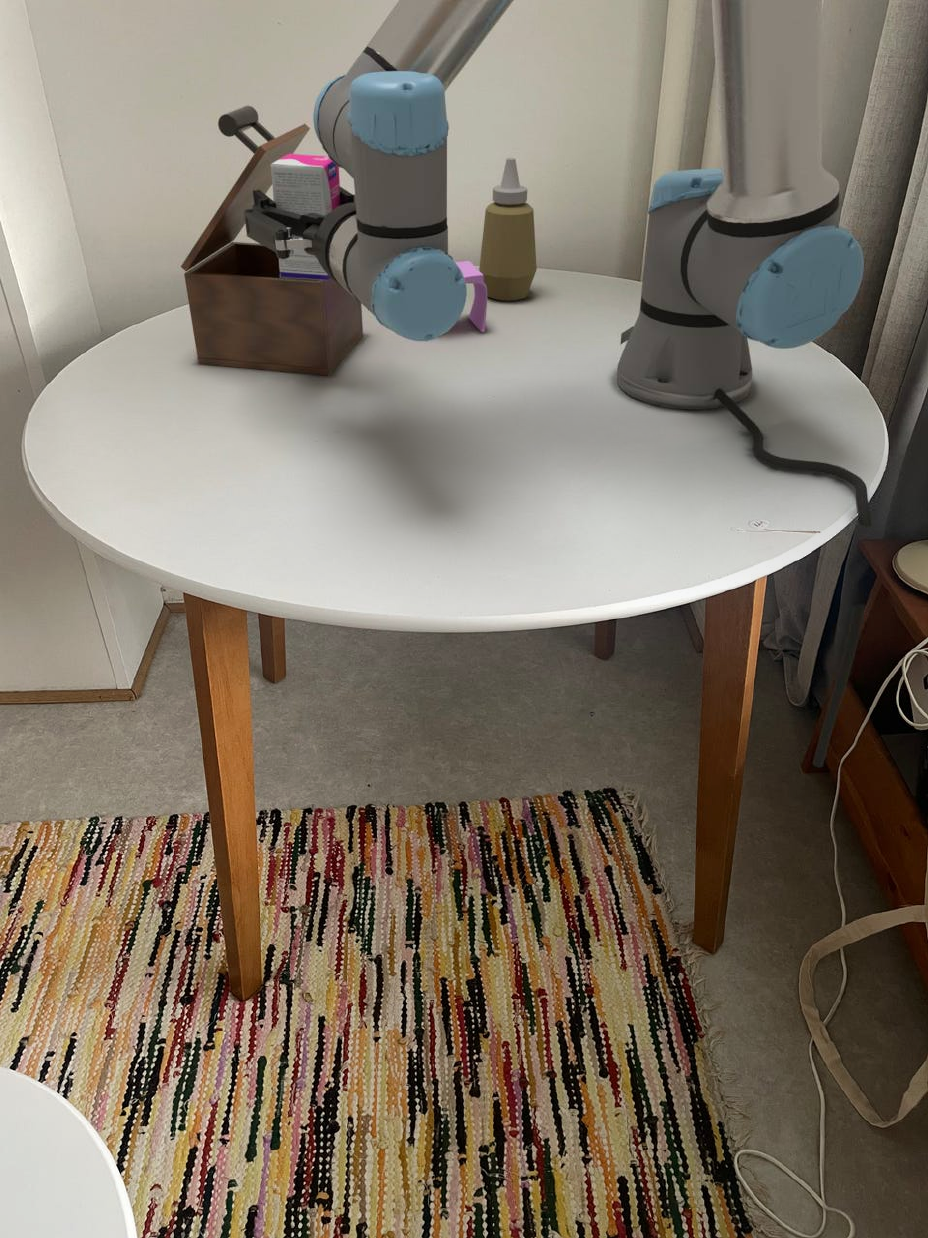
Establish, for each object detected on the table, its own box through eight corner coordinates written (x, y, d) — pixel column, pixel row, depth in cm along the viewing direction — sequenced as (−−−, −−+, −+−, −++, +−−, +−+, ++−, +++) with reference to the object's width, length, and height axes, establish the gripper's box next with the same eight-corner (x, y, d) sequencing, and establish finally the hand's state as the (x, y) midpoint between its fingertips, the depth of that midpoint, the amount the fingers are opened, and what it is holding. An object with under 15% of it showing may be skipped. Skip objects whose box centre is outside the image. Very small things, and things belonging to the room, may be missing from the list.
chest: (363, 336, 129) (358, 249, 122) (328, 375, 118) (320, 283, 111) (243, 326, 132) (232, 241, 125) (198, 363, 121) (183, 273, 114)
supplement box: (331, 281, 107) (322, 165, 100) (278, 278, 108) (266, 163, 101) (346, 265, 111) (339, 154, 105) (296, 262, 112) (285, 152, 106)
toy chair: (490, 334, 129) (492, 212, 120) (424, 341, 127) (422, 217, 118) (472, 314, 136) (473, 197, 127) (409, 320, 133) (405, 201, 125)
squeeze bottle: (469, 290, 144) (470, 155, 133) (519, 283, 146) (523, 150, 136) (494, 307, 138) (497, 167, 127) (545, 299, 140) (552, 161, 130)
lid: (310, 128, 115) (266, 85, 114) (265, 151, 105) (216, 104, 103) (234, 240, 125) (192, 202, 123) (185, 271, 114) (139, 230, 113)
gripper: (262, 308, 91) (206, 245, 108) (466, 280, 98) (384, 224, 115) (251, 222, 87) (195, 170, 104) (466, 199, 94) (381, 154, 111)
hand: (295, 199), depth 109 cm, fingers closed on supplement box, 8 cm apart
